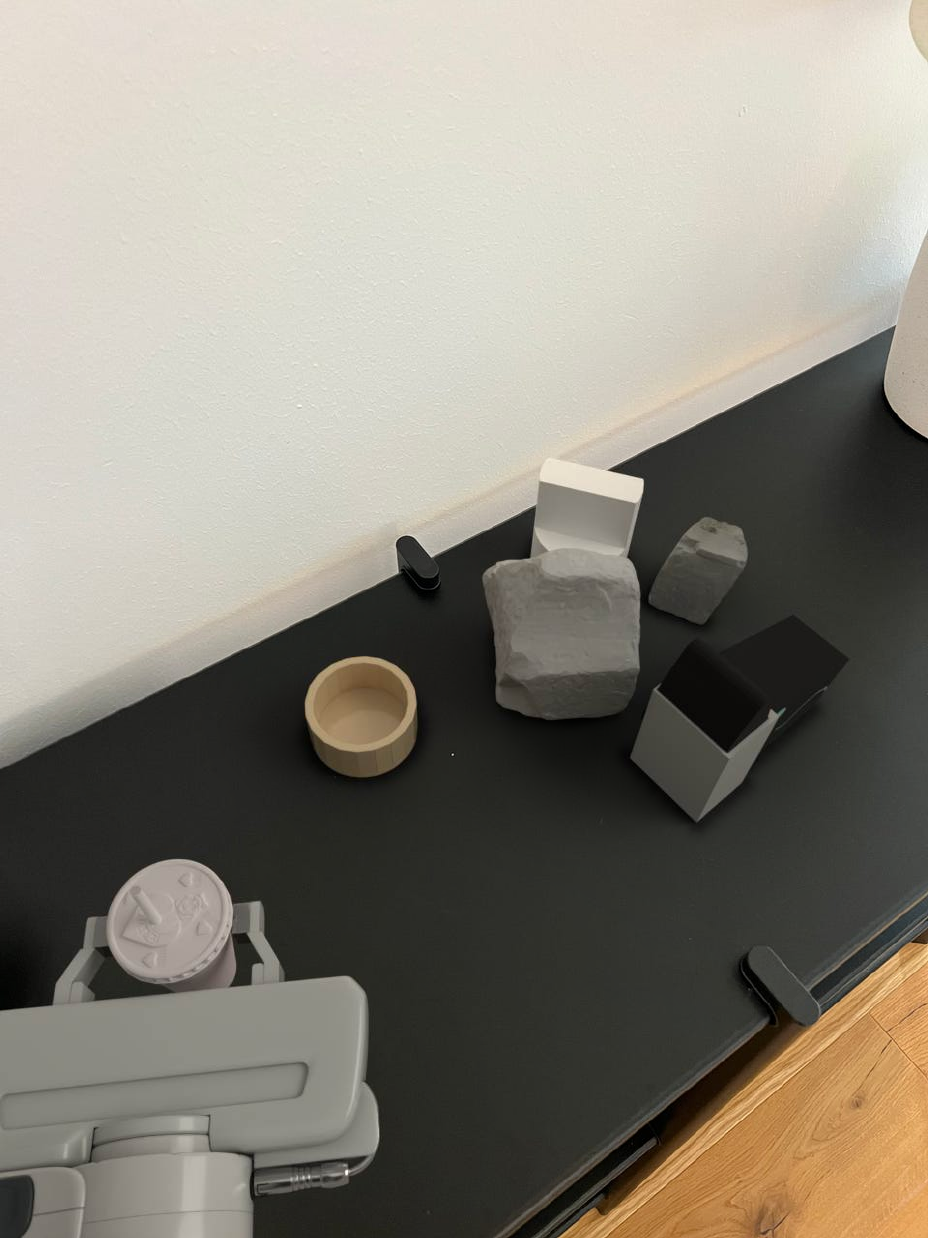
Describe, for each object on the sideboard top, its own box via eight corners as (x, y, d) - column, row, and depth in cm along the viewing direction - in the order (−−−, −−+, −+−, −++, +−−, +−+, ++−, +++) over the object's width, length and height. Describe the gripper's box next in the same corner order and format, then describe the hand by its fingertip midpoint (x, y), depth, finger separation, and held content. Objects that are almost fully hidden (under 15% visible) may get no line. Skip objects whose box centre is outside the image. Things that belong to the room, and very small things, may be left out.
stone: (494, 734, 81) (503, 632, 69) (479, 617, 88) (485, 506, 76) (628, 723, 82) (661, 621, 69) (603, 609, 89) (628, 498, 77)
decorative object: (835, 700, 83) (902, 596, 71) (696, 822, 76) (744, 731, 64) (763, 640, 87) (815, 532, 75) (624, 752, 80) (656, 653, 68)
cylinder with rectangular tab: (518, 591, 90) (527, 504, 80) (542, 523, 95) (553, 434, 85) (612, 614, 88) (632, 529, 79) (631, 544, 93) (652, 456, 84)
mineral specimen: (741, 631, 87) (744, 575, 80) (647, 619, 90) (642, 564, 83) (752, 569, 91) (756, 511, 84) (661, 560, 94) (658, 503, 87)
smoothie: (138, 946, 58) (64, 857, 47) (238, 900, 60) (190, 803, 48) (169, 1047, 55) (97, 977, 43) (274, 994, 56) (232, 914, 45)
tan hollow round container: (298, 768, 79) (291, 742, 75) (326, 677, 84) (321, 649, 80) (405, 785, 78) (403, 760, 74) (426, 693, 83) (425, 665, 79)
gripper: (379, 1174, 42) (365, 872, 50) (-106, 1232, 40) (-39, 910, 48) (385, 1189, 47) (372, 913, 55) (-44, 1241, 45) (7, 948, 53)
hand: (176, 912), depth 52 cm, fingers closed on smoothie, 6 cm apart
